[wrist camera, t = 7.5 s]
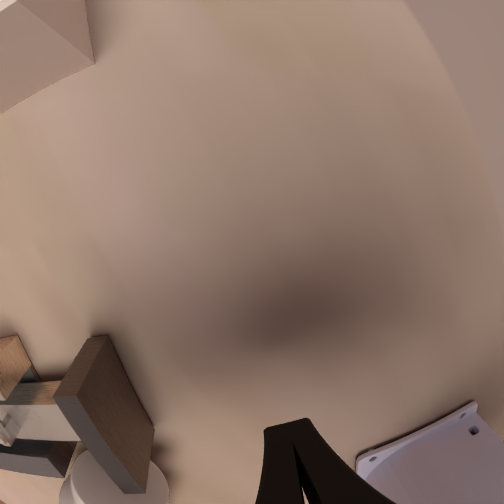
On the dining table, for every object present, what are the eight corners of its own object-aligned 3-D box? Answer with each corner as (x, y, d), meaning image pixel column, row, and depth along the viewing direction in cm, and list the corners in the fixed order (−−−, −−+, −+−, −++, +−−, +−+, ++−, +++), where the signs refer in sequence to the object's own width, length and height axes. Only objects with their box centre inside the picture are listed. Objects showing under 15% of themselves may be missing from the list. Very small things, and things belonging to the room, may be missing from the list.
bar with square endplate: (101, 319, 12) (66, 377, 8) (154, 430, 13) (145, 493, 10) (-13, 339, 11) (-55, 382, 7) (43, 433, 13) (20, 483, 9)
